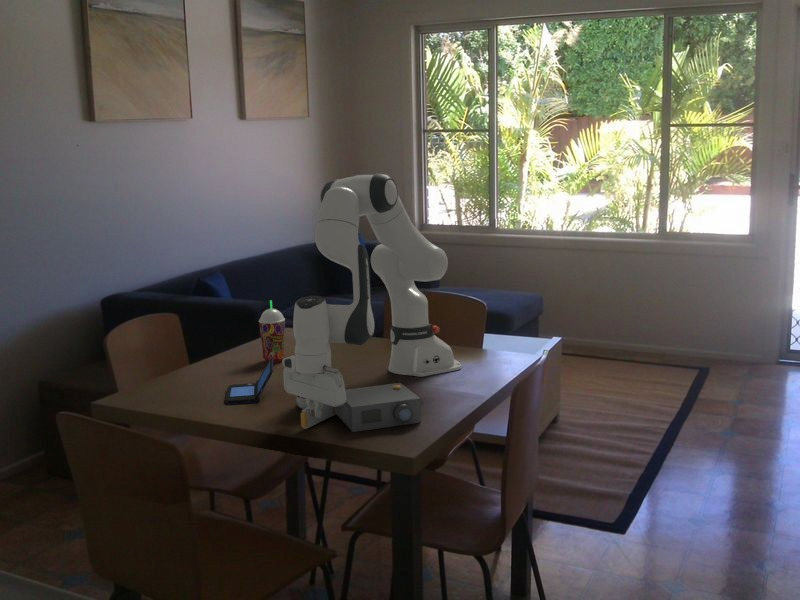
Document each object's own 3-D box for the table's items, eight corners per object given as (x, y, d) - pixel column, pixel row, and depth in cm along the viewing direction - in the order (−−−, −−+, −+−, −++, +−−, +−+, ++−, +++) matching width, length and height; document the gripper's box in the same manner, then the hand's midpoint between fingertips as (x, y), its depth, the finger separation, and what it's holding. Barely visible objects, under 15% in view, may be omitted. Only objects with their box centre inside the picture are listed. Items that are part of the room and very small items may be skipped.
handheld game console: (228, 389, 261) (226, 358, 259) (274, 386, 263) (273, 356, 261) (225, 405, 246) (223, 373, 244) (274, 402, 247) (272, 370, 246)
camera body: (401, 405, 241) (400, 380, 239) (424, 425, 225) (423, 398, 223) (335, 414, 235) (334, 388, 234) (354, 435, 219) (353, 407, 217)
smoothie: (275, 365, 285) (272, 303, 281) (255, 362, 289) (252, 301, 285) (292, 359, 292) (289, 299, 288) (272, 356, 296) (269, 297, 292)
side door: (335, 414, 234) (335, 395, 233) (304, 430, 223) (304, 410, 222) (332, 414, 235) (331, 395, 234) (301, 429, 223) (300, 409, 222)
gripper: (350, 367, 216) (353, 421, 219) (297, 353, 230) (300, 405, 233) (331, 372, 212) (333, 428, 214) (277, 358, 226) (280, 411, 229)
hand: (315, 416), depth 224 cm, fingers closed
